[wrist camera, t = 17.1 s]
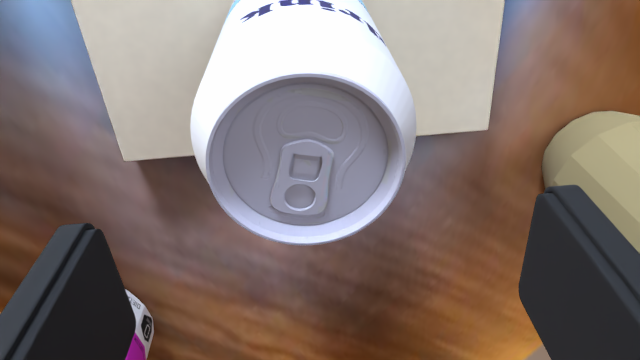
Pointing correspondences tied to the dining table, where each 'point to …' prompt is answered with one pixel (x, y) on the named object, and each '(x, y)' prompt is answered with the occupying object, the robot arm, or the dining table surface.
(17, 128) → the dining table surface
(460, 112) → the serving board
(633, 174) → the squeeze bottle
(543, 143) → the dining table surface
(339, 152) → the beverage can
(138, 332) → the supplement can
